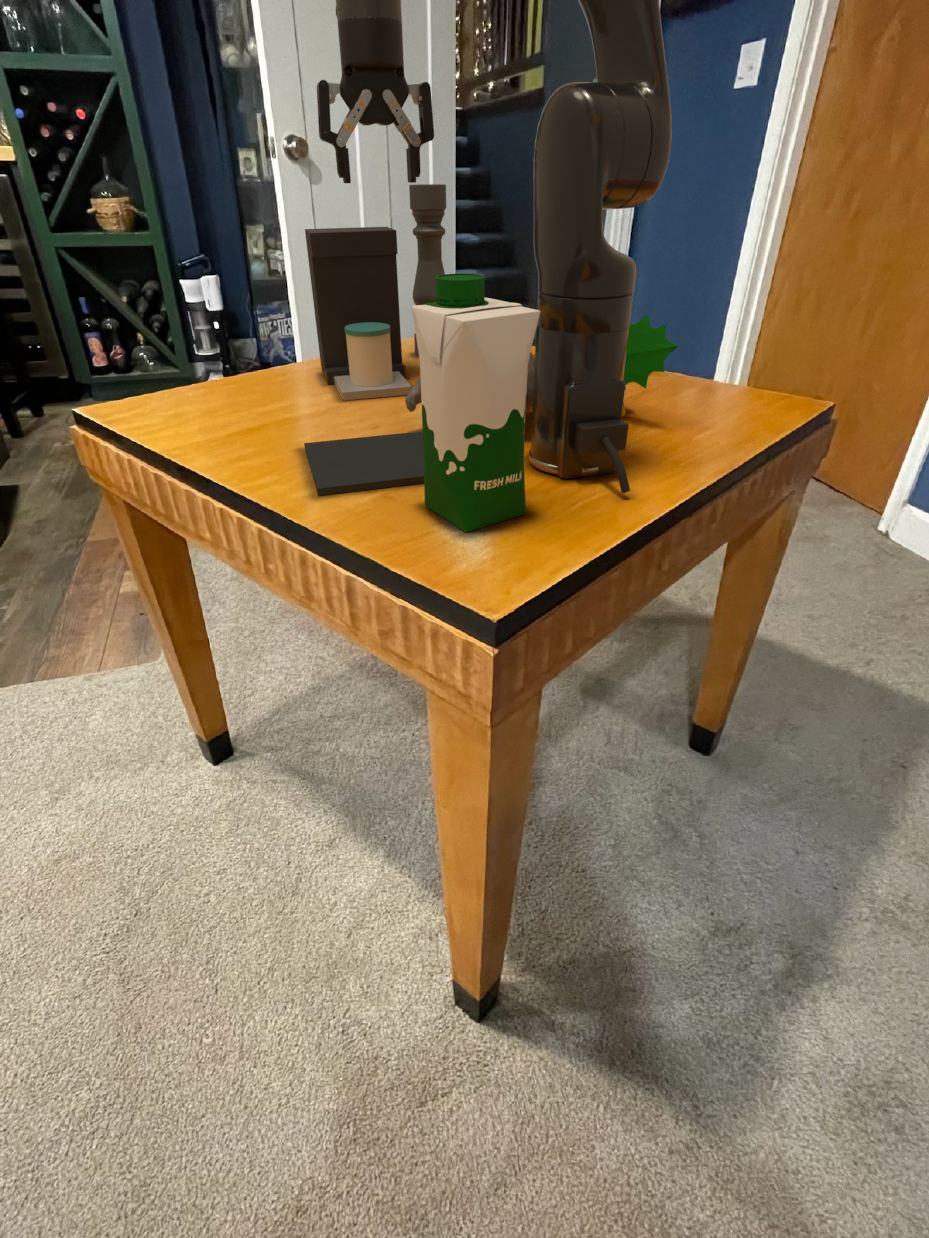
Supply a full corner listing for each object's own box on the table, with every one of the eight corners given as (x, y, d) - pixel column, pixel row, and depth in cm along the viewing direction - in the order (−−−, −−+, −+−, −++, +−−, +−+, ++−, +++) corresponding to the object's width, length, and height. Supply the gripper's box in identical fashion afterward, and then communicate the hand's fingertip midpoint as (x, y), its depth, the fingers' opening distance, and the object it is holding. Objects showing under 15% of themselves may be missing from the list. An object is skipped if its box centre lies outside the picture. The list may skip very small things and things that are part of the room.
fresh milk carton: (484, 485, 71) (487, 269, 60) (540, 515, 65) (554, 281, 54) (411, 505, 67) (399, 278, 56) (463, 540, 61) (461, 292, 49)
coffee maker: (418, 394, 99) (412, 236, 88) (335, 401, 96) (317, 239, 85) (395, 366, 113) (386, 226, 102) (321, 372, 110) (304, 229, 99)
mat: (452, 479, 72) (452, 472, 72) (318, 496, 69) (317, 488, 68) (421, 437, 83) (421, 431, 83) (305, 449, 80) (304, 443, 80)
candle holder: (431, 348, 123) (426, 184, 109) (457, 353, 120) (455, 184, 106) (407, 355, 119) (399, 185, 106) (434, 360, 116) (429, 185, 102)
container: (397, 385, 99) (394, 329, 95) (353, 388, 97) (348, 332, 93) (389, 374, 104) (385, 321, 100) (346, 377, 102) (341, 323, 98)
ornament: (643, 452, 92) (710, 345, 84) (614, 451, 86) (684, 336, 78) (535, 376, 100) (587, 272, 93) (501, 370, 94) (554, 258, 86)
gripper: (311, 11, 76) (328, 184, 85) (436, 16, 79) (440, 182, 88) (305, 22, 82) (322, 183, 91) (421, 26, 85) (426, 181, 94)
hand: (380, 183), depth 89 cm, fingers open, 8 cm apart
